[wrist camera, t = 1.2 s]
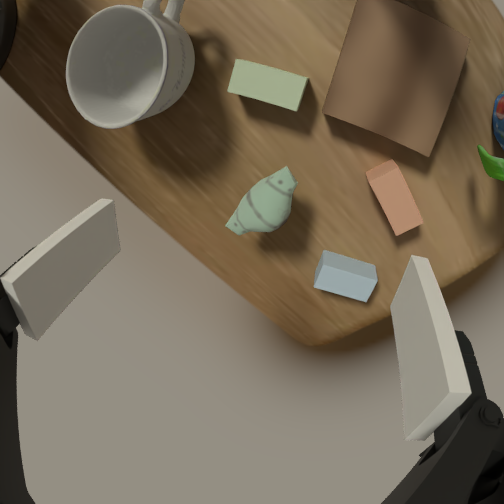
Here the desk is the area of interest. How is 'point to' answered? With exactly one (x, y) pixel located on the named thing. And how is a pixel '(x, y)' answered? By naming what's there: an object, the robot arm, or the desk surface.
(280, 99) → the brick sage
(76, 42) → the teacup
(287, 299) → the desk surface
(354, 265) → the brick blue
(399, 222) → the brick terracotta
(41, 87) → the desk surface
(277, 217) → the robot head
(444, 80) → the plinth
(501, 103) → the snack cup
